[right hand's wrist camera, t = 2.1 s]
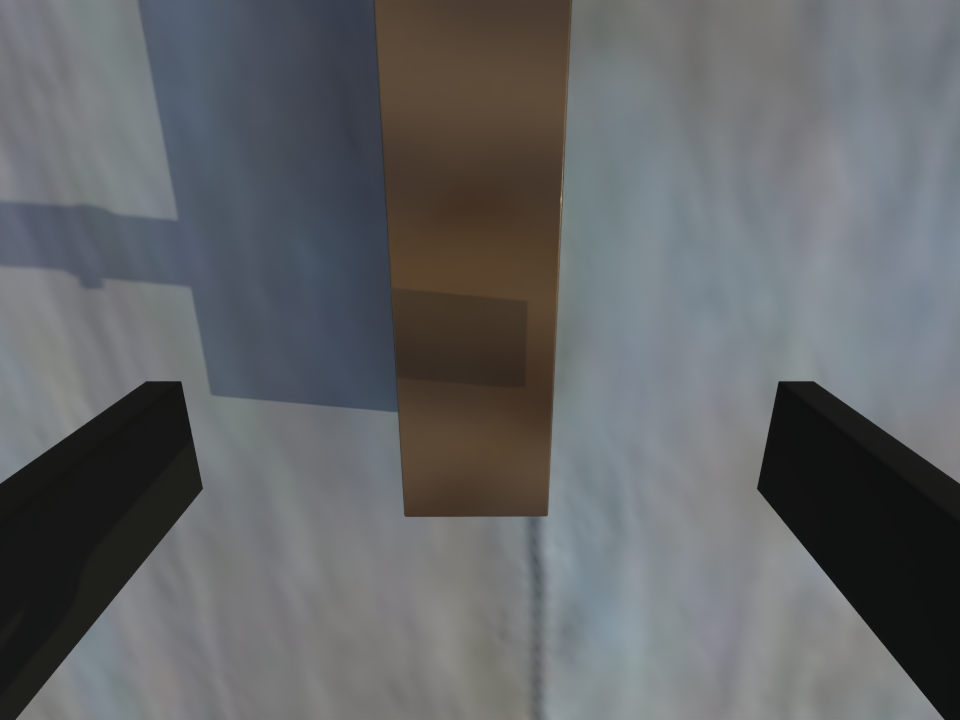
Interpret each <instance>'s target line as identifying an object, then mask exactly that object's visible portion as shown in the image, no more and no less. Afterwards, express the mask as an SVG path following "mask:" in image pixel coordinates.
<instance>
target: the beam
mask: <svg viewBox="0 0 960 720" xmlns="http://www.w3.org/2000/svg"><path fill="white" fill-rule="evenodd" d="M571 9H572V0H374V16H375V32H376V49H377V66H378V83H379V99H380V116H381V133H382V149H383V166H384V183H385V200H386V216H387V233H388V250H389V267H390V283H391V300H392V317H393V333H394V350H395V367H396V384H397V400H398V417H399V434H400V450H401V467H402V484H403V501H404V515H405V516H406V517H475V516H547V515H548V501H549V479H550V458H551V437H552V415H553V394H554V373H555V351H556V330H557V308H558V287H559V266H560V244H561V223H562V201H563V180H564V159H565V137H566V116H567V94H568V73H569V52H570V30H571Z"/></svg>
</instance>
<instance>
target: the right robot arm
mask: <svg viewBox="0 0 960 720" xmlns="http://www.w3.org/2000/svg"><path fill="white" fill-rule="evenodd" d="M202 489H203V487H202V482H201V477H200V472H199V467H198V462H197V457H196V452H195V447H194V442H193V437H192V432H191V428H190V423H189V418H188V413H187V408H186V403H185V398H184V393H183V388H182V383H181V381H146V382H145V383H143V384H142V385H140V386H139V387H138V388H136V389H135V390H133V391H132V392H130V393H129V394H128V395H126V396H125V397H123V398H122V399H121V400H119V401H118V402H116V403H115V404H113V405H112V406H111V407H109V408H108V409H106V410H105V411H103V412H102V413H101V414H99V415H98V416H96V417H95V418H93V419H92V420H91V421H89V422H88V423H86V424H85V425H83V426H82V427H81V428H79V429H78V430H76V431H75V432H73V433H72V434H71V435H69V436H68V437H66V438H65V439H63V440H62V441H61V442H59V443H58V444H56V445H55V446H53V447H52V448H51V449H49V450H48V451H46V452H45V453H44V454H42V455H41V456H39V457H38V458H36V459H35V460H34V461H32V462H31V463H29V464H28V465H26V466H25V467H24V468H22V469H21V470H19V471H18V472H16V473H15V474H14V475H12V476H11V477H9V478H8V479H6V480H5V481H4V482H2V483H1V484H0V720H16V718H17V717H18V716H19V715H20V714H21V712H22V711H23V710H24V709H25V707H26V706H27V705H28V704H29V702H30V701H31V700H32V699H33V697H34V696H35V695H36V694H37V693H38V691H39V690H40V689H41V688H42V686H43V685H44V684H45V683H46V681H47V680H48V679H49V678H50V677H51V675H52V674H53V673H54V672H55V670H56V669H57V668H58V667H59V665H60V664H61V663H62V662H63V661H64V659H65V658H66V657H67V656H68V654H69V653H70V652H71V651H72V649H73V648H74V647H75V646H76V645H77V643H78V642H79V641H80V640H81V638H82V637H83V636H84V635H85V633H86V632H87V631H88V630H89V629H90V627H91V626H92V625H93V624H94V622H95V621H96V620H97V619H98V617H99V616H100V615H101V614H102V612H103V611H104V610H105V609H106V608H107V606H108V605H109V604H110V603H111V601H112V600H113V599H114V598H115V596H116V595H117V594H118V593H119V592H120V590H121V589H122V588H123V587H124V585H125V584H126V583H127V582H128V580H129V579H130V578H131V577H132V576H133V574H134V573H135V572H136V571H137V569H138V568H139V567H140V566H141V564H142V563H143V562H144V561H145V560H146V558H147V557H148V556H149V555H150V553H151V552H152V551H153V550H154V548H155V547H156V546H157V545H158V543H159V542H160V541H161V540H162V539H163V537H164V536H165V535H166V534H167V532H168V531H169V530H170V529H171V527H172V526H173V525H174V524H175V523H176V521H177V520H178V519H179V518H180V516H181V515H182V514H183V513H184V511H185V510H186V509H187V508H188V507H189V505H190V504H191V503H192V502H193V500H194V499H195V498H196V497H197V495H198V494H199V493H200V492H201V491H202ZM757 489H758V491H759V492H760V493H761V494H762V495H763V497H764V498H765V499H766V500H767V502H768V503H769V504H770V505H771V507H772V508H773V509H774V510H775V511H776V513H777V514H778V515H779V516H780V518H781V519H782V520H783V521H784V523H785V524H786V525H787V526H788V527H789V529H790V530H791V531H792V532H793V534H794V535H795V536H796V537H797V539H798V540H799V541H800V542H801V543H802V545H803V546H804V547H805V548H806V550H807V551H808V552H809V553H810V555H811V556H812V557H813V558H814V560H815V561H816V562H817V563H818V564H819V566H820V567H821V568H822V569H823V571H824V572H825V573H826V574H827V576H828V577H829V578H830V579H831V580H832V582H833V583H834V584H835V585H836V587H837V588H838V589H839V590H840V592H841V593H842V594H843V595H844V596H845V598H846V599H847V600H848V601H849V603H850V604H851V605H852V606H853V608H854V609H855V610H856V611H857V612H858V614H859V615H860V616H861V617H862V619H863V620H864V621H865V622H866V624H867V625H868V626H869V627H870V629H871V630H872V631H873V632H874V633H875V635H876V636H877V637H878V638H879V640H880V641H881V642H882V643H883V645H884V646H885V647H886V648H887V649H888V651H889V652H890V653H891V654H892V656H893V657H894V658H895V659H896V661H897V662H898V663H899V664H900V665H901V667H902V668H903V669H904V670H905V672H906V673H907V674H908V675H909V677H910V678H911V679H912V680H913V681H914V683H915V684H916V685H917V686H918V688H919V689H920V690H921V691H922V693H923V694H924V695H925V696H926V697H927V699H928V700H929V701H930V702H931V704H932V705H933V706H934V707H935V709H936V710H937V711H938V712H939V714H940V715H941V716H942V717H943V718H944V720H960V484H959V483H958V482H956V481H955V480H954V479H952V478H951V477H949V476H948V475H946V474H945V473H944V472H942V471H941V470H939V469H938V468H936V467H935V466H934V465H932V464H931V463H929V462H928V461H926V460H925V459H924V458H922V457H921V456H919V455H918V454H916V453H915V452H914V451H912V450H911V449H909V448H908V447H907V446H905V445H904V444H902V443H901V442H899V441H898V440H897V439H895V438H894V437H892V436H891V435H889V434H888V433H887V432H885V431H884V430H882V429H881V428H879V427H878V426H877V425H875V424H874V423H872V422H871V421H869V420H868V419H867V418H865V417H864V416H862V415H861V414H859V413H858V412H857V411H855V410H854V409H852V408H851V407H849V406H848V405H847V404H845V403H844V402H842V401H841V400H839V399H838V398H837V397H835V396H834V395H832V394H831V393H830V392H828V391H827V390H825V389H824V388H822V387H821V386H820V385H818V384H817V383H815V382H814V381H779V383H778V388H777V393H776V398H775V403H774V408H773V413H772V418H771V423H770V427H769V432H768V437H767V442H766V447H765V452H764V457H763V462H762V467H761V472H760V477H759V482H758V487H757Z"/></svg>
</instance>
